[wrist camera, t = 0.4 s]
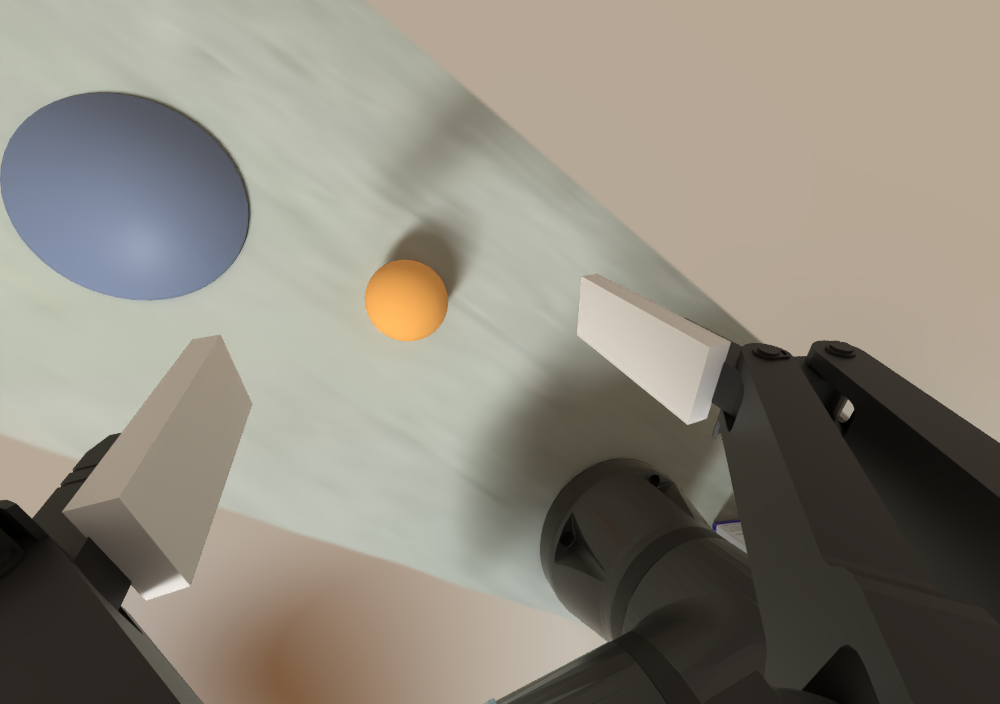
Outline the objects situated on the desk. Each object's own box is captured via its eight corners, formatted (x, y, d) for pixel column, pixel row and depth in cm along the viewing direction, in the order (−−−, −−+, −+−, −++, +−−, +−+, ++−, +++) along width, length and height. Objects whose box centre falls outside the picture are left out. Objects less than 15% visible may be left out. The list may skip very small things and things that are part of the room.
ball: (453, 319, 29) (468, 322, 24) (388, 349, 28) (388, 359, 23) (422, 252, 28) (431, 240, 23) (353, 281, 27) (345, 276, 22)
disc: (284, 256, 25) (284, 256, 25) (90, 331, 23) (88, 331, 23) (181, 69, 23) (179, 67, 22) (-53, 131, 20) (-57, 129, 20)
